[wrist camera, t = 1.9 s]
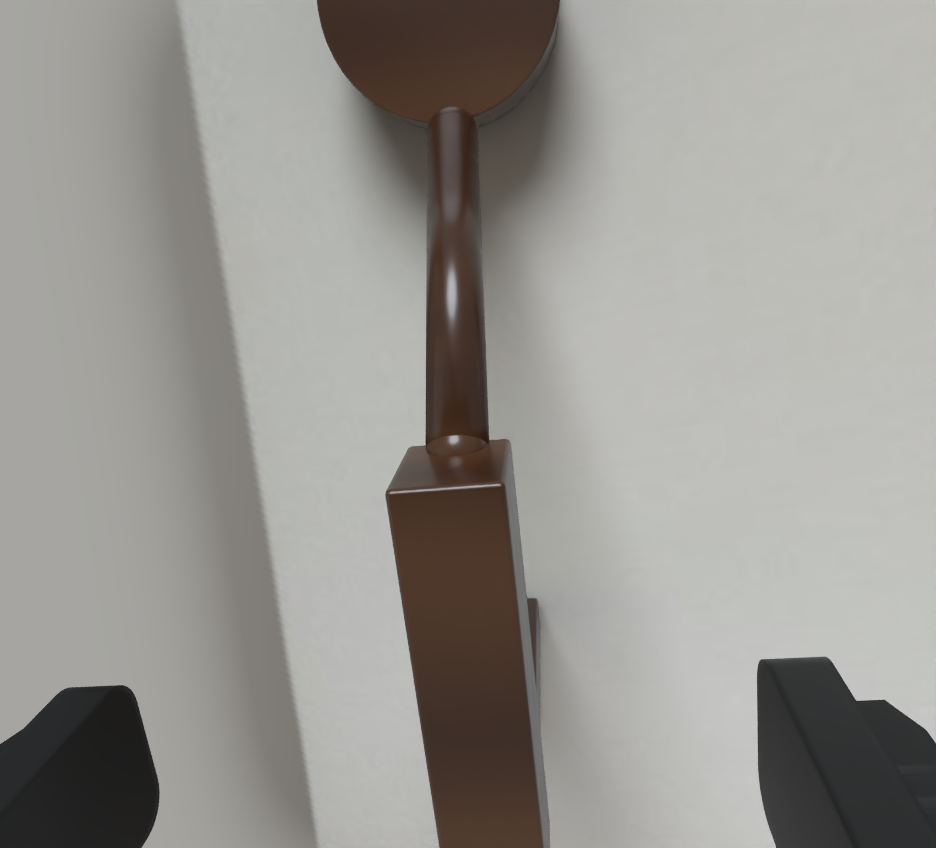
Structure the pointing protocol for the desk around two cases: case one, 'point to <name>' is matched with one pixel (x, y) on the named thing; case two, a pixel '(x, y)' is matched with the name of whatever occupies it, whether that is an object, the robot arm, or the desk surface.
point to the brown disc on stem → (460, 418)
